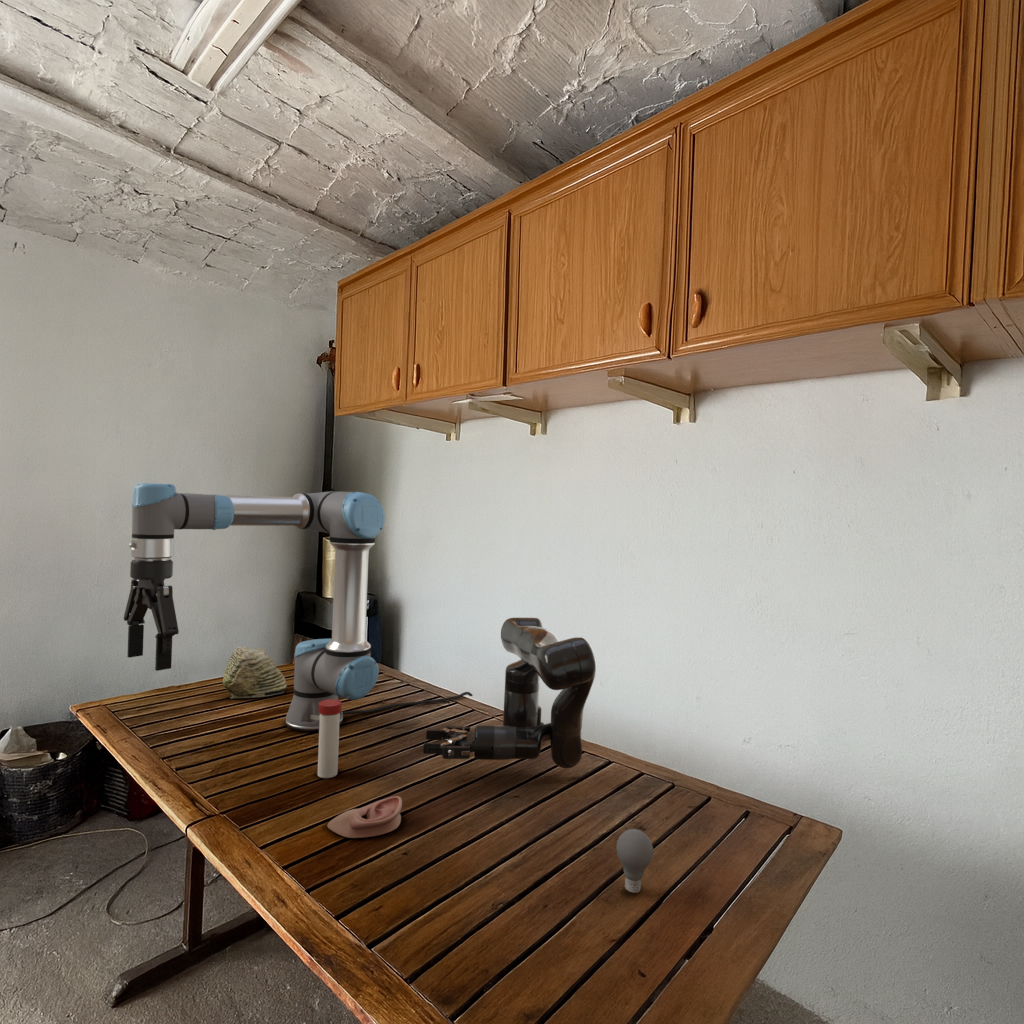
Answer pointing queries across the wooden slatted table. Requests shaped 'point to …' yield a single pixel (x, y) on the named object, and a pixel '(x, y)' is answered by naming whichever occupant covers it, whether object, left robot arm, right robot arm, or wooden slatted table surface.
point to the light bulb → (634, 857)
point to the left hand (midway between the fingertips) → (148, 662)
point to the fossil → (252, 674)
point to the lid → (330, 707)
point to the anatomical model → (369, 819)
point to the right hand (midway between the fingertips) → (424, 741)
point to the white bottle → (328, 745)
